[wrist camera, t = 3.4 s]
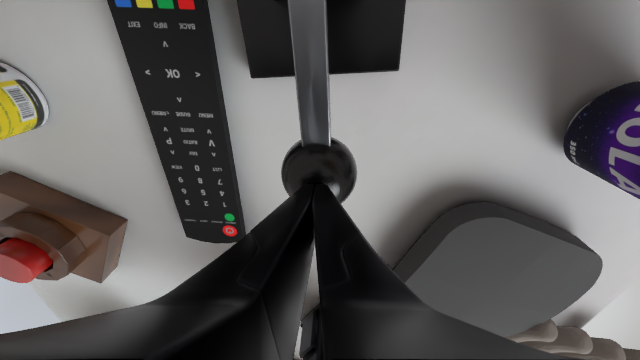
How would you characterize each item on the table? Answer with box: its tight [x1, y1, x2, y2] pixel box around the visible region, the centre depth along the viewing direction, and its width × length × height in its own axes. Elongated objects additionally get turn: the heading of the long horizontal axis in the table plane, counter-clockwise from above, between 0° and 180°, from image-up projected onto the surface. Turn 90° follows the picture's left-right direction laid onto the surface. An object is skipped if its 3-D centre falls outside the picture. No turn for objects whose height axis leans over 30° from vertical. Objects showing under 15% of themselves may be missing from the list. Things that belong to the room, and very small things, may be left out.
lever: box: [281, 0, 357, 204], centre depth 8 cm, size 12×3×3 cm, turn 3°
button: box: [0, 238, 53, 283], centre depth 20 cm, size 4×4×2 cm
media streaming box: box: [393, 202, 602, 337], centre depth 23 cm, size 15×15×3 cm
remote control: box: [107, 0, 246, 243], centre depth 17 cm, size 5×24×1 cm, turn 178°
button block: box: [0, 171, 127, 283], centre depth 23 cm, size 10×8×4 cm
